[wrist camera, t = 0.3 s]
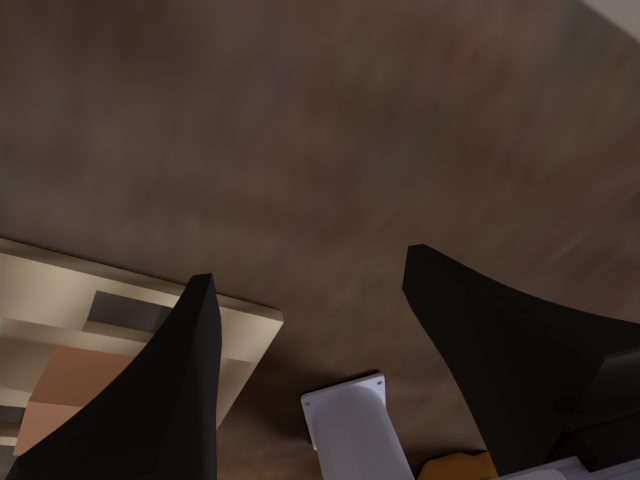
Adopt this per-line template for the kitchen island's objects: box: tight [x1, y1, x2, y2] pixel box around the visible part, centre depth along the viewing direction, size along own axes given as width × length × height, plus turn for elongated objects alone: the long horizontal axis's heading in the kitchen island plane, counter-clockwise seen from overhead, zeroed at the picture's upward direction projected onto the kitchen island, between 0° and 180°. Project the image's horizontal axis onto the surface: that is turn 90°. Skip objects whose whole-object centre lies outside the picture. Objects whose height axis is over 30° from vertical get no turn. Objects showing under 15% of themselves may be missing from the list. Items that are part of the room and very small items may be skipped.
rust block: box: [13, 345, 135, 455], centre depth 22 cm, size 5×5×4 cm
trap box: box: [0, 238, 284, 446], centre depth 23 cm, size 22×17×3 cm
